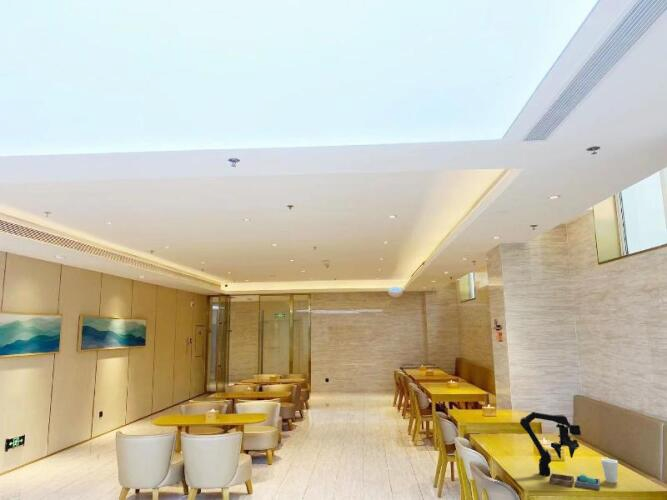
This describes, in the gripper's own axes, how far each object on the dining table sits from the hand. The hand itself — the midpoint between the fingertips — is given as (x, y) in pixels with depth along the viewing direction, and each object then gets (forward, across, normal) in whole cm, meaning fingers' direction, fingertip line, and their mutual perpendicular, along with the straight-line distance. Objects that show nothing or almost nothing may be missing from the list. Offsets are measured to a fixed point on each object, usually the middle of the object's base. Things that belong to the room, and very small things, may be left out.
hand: (565, 458), depth 318 cm
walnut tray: (+12, -12, -9) cm, 19 cm away
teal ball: (+9, 0, -22) cm, 24 cm away
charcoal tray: (+12, 0, -18) cm, 22 cm away
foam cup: (+12, +22, -15) cm, 29 cm away
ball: (+9, 0, -15) cm, 17 cm away
